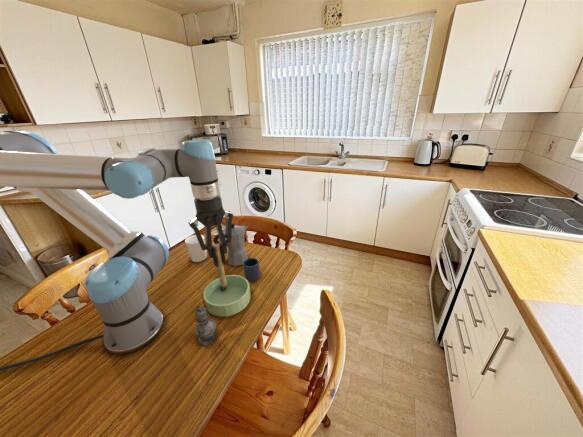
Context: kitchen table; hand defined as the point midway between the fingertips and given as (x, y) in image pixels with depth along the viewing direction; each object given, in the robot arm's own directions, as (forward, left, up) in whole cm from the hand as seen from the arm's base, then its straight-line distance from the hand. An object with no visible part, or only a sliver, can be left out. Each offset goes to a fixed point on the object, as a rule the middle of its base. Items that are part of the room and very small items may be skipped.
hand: (219, 263), depth 79 cm
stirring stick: (0, 0, -9) cm, 9 cm away
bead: (0, +3, -13) cm, 13 cm away
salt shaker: (-10, -13, -15) cm, 22 cm away
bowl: (0, -2, -14) cm, 15 cm away
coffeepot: (+10, +19, -15) cm, 26 cm away
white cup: (-3, +31, -15) cm, 34 cm away
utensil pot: (+12, +5, -14) cm, 19 cm away
